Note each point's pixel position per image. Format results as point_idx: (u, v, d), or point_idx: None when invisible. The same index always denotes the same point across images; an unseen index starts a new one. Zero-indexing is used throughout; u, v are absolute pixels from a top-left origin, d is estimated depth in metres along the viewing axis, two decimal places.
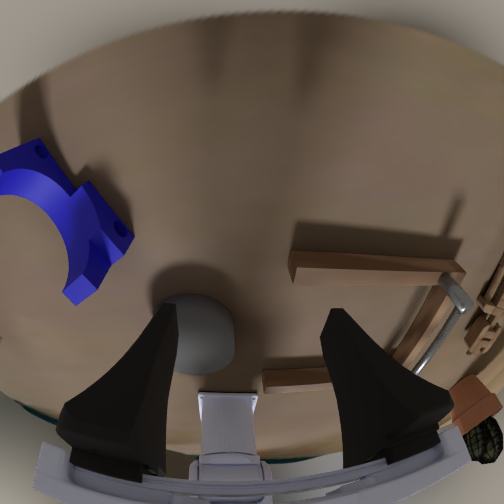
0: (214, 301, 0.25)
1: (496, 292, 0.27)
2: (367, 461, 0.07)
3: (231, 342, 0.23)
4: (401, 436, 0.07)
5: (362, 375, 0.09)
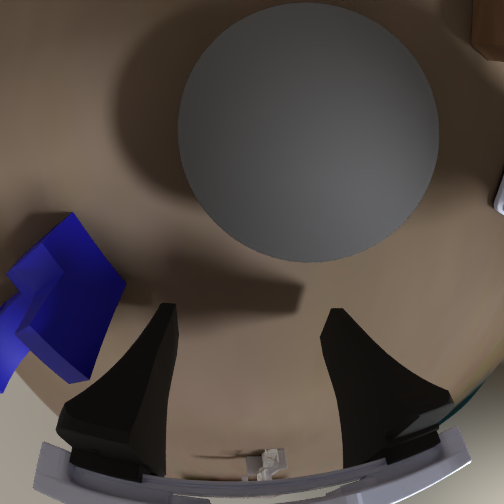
0: None
1: None
2: (367, 461, 0.07)
3: (307, 5, 0.05)
4: (401, 436, 0.07)
5: (362, 375, 0.09)
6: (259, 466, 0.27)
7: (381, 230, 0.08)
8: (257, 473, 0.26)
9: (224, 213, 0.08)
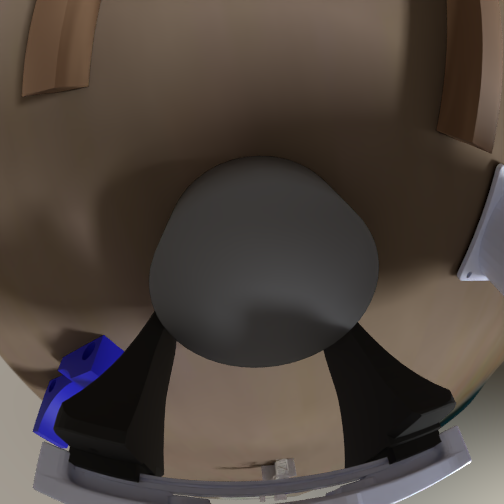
0: (179, 200, 0.11)
1: None
2: (369, 460, 0.07)
3: (233, 191, 0.07)
4: (403, 435, 0.07)
5: (364, 375, 0.09)
6: (273, 473, 0.31)
7: (325, 342, 0.11)
8: None
9: (200, 348, 0.10)
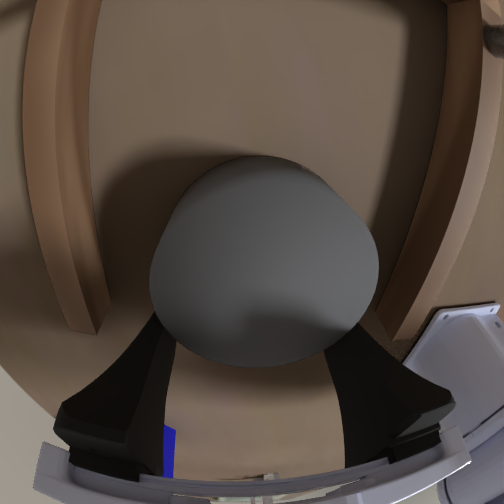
0: (179, 200, 0.11)
1: None
2: (369, 461, 0.07)
3: (233, 191, 0.07)
4: (403, 435, 0.07)
5: (364, 375, 0.09)
6: None
7: (325, 342, 0.11)
8: None
9: (200, 348, 0.10)
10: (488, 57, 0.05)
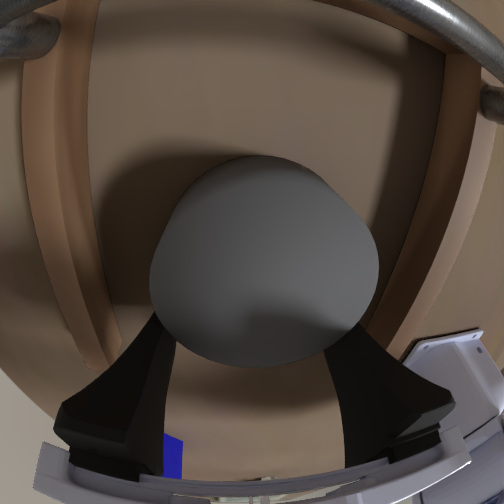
0: (179, 199, 0.10)
1: None
2: (369, 461, 0.07)
3: (233, 191, 0.07)
4: (403, 435, 0.07)
5: (364, 375, 0.09)
6: None
7: (325, 342, 0.11)
8: None
9: (200, 348, 0.10)
10: (481, 123, 0.07)
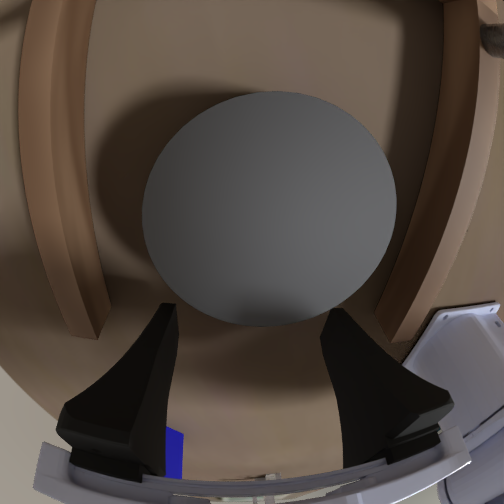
0: None
1: None
2: (367, 461, 0.07)
3: (238, 99, 0.06)
4: (401, 436, 0.07)
5: (362, 375, 0.09)
6: None
7: (341, 294, 0.10)
8: None
9: (198, 299, 0.09)
10: (485, 57, 0.05)
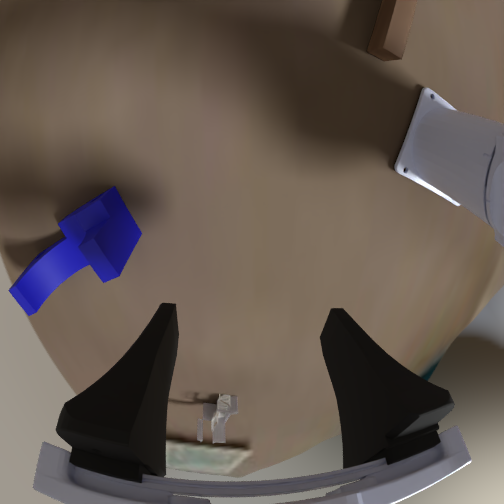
0: None
1: None
2: (367, 461, 0.07)
3: None
4: (401, 436, 0.07)
5: (362, 375, 0.09)
6: (214, 412, 0.35)
7: None
8: (212, 418, 0.33)
9: None
10: None
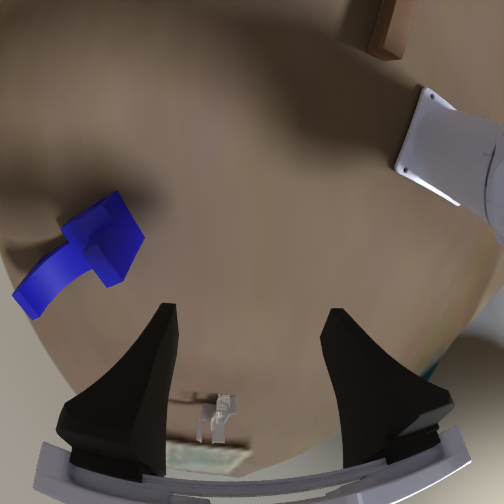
0: None
1: None
2: (367, 461, 0.07)
3: None
4: (401, 436, 0.07)
5: (362, 375, 0.09)
6: (214, 413, 0.34)
7: None
8: (211, 419, 0.33)
9: None
10: None
